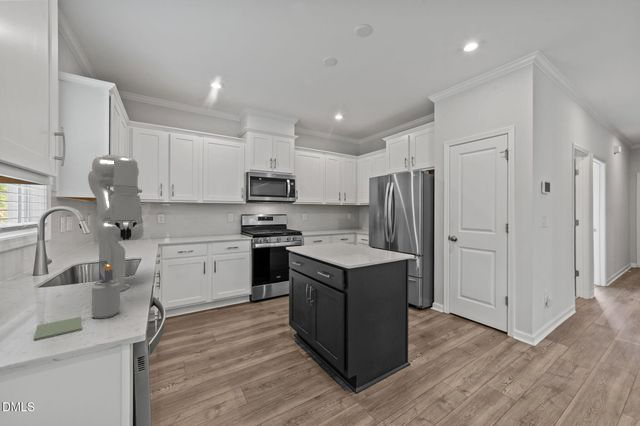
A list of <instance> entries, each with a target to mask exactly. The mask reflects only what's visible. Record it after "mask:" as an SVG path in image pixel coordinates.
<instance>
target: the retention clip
mask: <svg viewBox="0 0 640 426" xmlns="http://www.w3.org/2000/svg"><path fill="white" fill-rule="evenodd" d="M112 270H113V266H112V265H111V264H108V262H107V261H99V260H98V281H99V280H104V281H108V280H112Z"/></svg>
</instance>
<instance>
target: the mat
mask: <svg viewBox="0 0 640 426" xmlns="http://www.w3.org/2000/svg"><path fill="white" fill-rule="evenodd" d="M79 331H83V325H82V317H81V316H78V317H71V318H67V319H61V320H58V321H52V322H46V323H42V324H37V326H36V329H35V333H34V336H33V341H35V340H36V341H40V340H45V339H48V338H53V337H57V336H62V335H66V334H70V333H74V332H76V333H77V332H79Z"/></svg>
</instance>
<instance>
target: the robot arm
mask: <svg viewBox="0 0 640 426" xmlns="http://www.w3.org/2000/svg"><path fill="white" fill-rule="evenodd" d="M138 166H139V165H138V161H136V159H134V158H133V157H131V156H124V155H115V154H105V155H103V156H96V157H94V159H93V161H92V164H91V170H90V171H89V172H88V175H87V181H88V186H89V188H90V190H91V193H92V194H93V196H94V198H95V200H96V206H97V207H96V209H97V214H98V218H99V219H100V220H101V222H98V224H97V225H96V228H95V229H96V230H95V231H96V233H95V234H96V238H97V243H98V262H99V261H107V262H108V264H111V265H112V266H113V270H112V279H117V282H118V283H120V292H122V291H125V290H128V289H130V284H129V283H126V250H125V248H124V247H123V245H121V243H119V242H125V241H137V240H139V239H142V238H143V236H144V232H145V231H144V230H145V229H144V225H143V223H144V221H143V209H142V208H143V207H142V200H141V197H140V195H139V194H141V193H143V189H141V188H139V185H138V184H139V182H138V180H139V178H138V177H139V175H140V173H139V172H140V171H139V167H138ZM110 188H112V189H113V190H112V189H110Z"/></svg>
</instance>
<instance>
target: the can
mask: <svg viewBox="0 0 640 426" xmlns="http://www.w3.org/2000/svg"><path fill="white" fill-rule="evenodd" d="M120 292H121V291H120V283H118V282H117V279H112V280H108V281H104V280H99V279H98V280H96V281H94V285H93V286H91V316H92V317H94V318H95V319H107V318H112V317H113V316H116V315H117V314H118V313H119V312H120V311H121V310H120V309H121V308H120V307H121V301H120V300H121V299H120V298H121V297H120V294H121V293H120Z"/></svg>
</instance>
